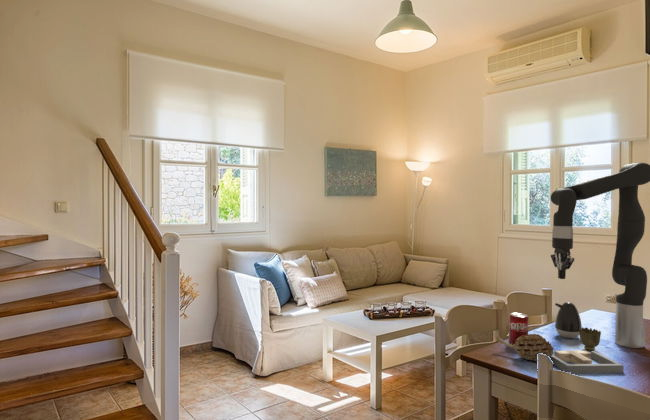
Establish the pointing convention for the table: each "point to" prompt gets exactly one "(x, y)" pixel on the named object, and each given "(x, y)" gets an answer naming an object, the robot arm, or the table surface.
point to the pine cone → (530, 346)
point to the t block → (574, 356)
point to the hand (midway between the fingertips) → (561, 278)
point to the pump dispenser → (568, 321)
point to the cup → (589, 338)
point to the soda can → (517, 326)
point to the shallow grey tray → (590, 365)
